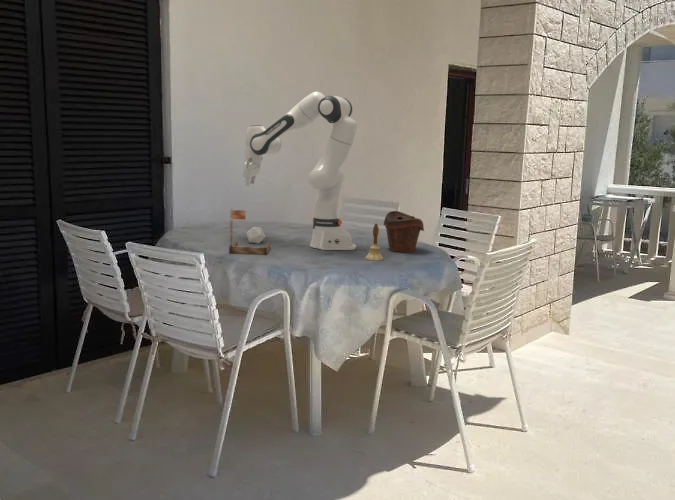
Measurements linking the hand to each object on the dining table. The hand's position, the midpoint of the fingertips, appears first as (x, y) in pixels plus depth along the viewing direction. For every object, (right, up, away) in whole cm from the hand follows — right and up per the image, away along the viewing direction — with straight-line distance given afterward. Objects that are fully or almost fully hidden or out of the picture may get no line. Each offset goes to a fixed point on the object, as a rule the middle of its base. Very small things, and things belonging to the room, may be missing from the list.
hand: (249, 184), depth 339 cm
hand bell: (+61, -37, -37) cm, 80 cm away
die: (+4, -30, -8) cm, 31 cm away
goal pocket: (+4, -33, -28) cm, 44 cm away
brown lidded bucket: (+76, -33, -13) cm, 84 cm away
